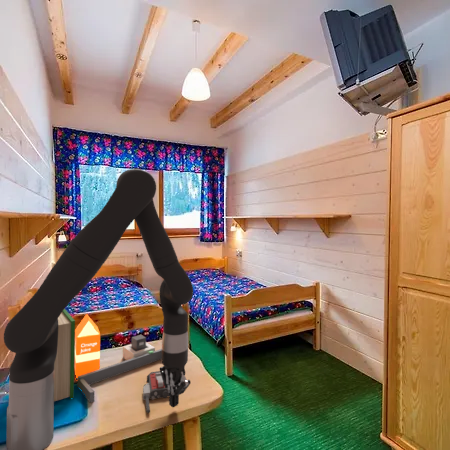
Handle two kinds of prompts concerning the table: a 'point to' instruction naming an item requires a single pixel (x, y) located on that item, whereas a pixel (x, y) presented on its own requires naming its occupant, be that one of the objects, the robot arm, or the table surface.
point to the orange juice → (87, 347)
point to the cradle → (114, 371)
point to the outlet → (130, 353)
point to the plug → (138, 342)
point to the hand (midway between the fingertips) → (173, 405)
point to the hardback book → (64, 358)
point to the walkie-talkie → (154, 388)
